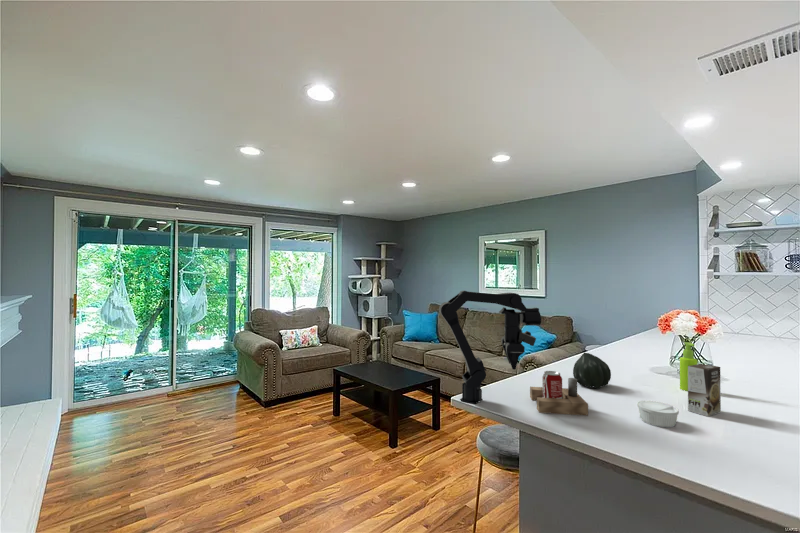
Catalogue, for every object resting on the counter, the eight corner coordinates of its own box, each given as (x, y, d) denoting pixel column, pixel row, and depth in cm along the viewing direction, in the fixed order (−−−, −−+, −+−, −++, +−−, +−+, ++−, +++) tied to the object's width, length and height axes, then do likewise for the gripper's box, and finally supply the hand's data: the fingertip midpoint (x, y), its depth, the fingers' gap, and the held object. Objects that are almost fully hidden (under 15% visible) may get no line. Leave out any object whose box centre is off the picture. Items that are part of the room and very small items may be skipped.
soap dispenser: (683, 391, 155) (682, 343, 156) (678, 387, 162) (677, 340, 162) (700, 393, 153) (700, 344, 154) (694, 388, 160) (694, 341, 160)
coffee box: (708, 417, 128) (708, 369, 128) (687, 410, 133) (686, 365, 134) (721, 412, 132) (721, 366, 132) (700, 406, 138) (700, 362, 138)
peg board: (539, 412, 131) (539, 383, 131) (530, 396, 148) (530, 371, 148) (587, 415, 128) (587, 386, 128) (573, 399, 145) (573, 373, 145)
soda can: (566, 407, 136) (566, 374, 136) (551, 409, 134) (551, 375, 134) (552, 401, 142) (552, 369, 143) (538, 403, 140) (538, 371, 140)
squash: (624, 375, 159) (599, 345, 167) (606, 382, 150) (581, 350, 159) (599, 391, 168) (577, 362, 176) (581, 399, 159) (559, 367, 167)
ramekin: (680, 432, 115) (680, 415, 115) (637, 424, 121) (637, 407, 121) (676, 420, 125) (676, 404, 125) (637, 413, 131) (637, 398, 131)
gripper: (539, 329, 133) (539, 373, 133) (529, 322, 151) (529, 361, 151) (507, 328, 135) (507, 372, 134) (501, 322, 153) (501, 360, 153)
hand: (512, 366), depth 143 cm, fingers open, 9 cm apart
